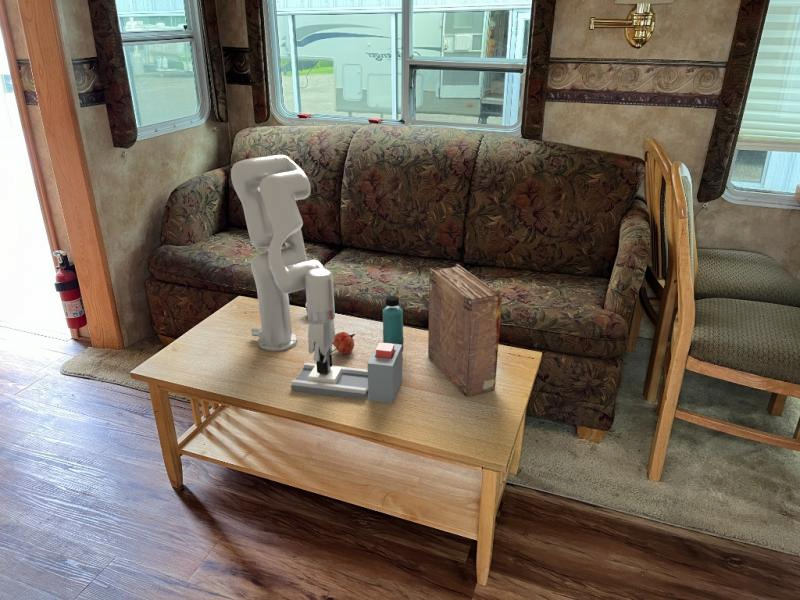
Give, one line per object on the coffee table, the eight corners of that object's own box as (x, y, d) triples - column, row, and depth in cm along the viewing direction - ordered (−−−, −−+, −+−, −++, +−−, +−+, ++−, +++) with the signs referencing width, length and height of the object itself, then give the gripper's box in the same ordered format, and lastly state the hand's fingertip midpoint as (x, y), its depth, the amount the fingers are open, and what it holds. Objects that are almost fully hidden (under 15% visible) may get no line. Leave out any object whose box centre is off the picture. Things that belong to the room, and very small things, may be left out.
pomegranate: (335, 365, 195) (360, 348, 192) (320, 348, 193) (345, 330, 191) (339, 356, 202) (363, 339, 199) (325, 339, 200) (349, 322, 198)
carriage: (308, 382, 179) (306, 355, 175) (316, 370, 185) (314, 344, 181) (335, 385, 177) (333, 358, 174) (341, 373, 183) (340, 347, 179)
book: (427, 356, 196) (429, 267, 183) (453, 350, 199) (456, 263, 186) (467, 397, 174) (471, 301, 162) (495, 390, 178) (502, 295, 165)
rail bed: (291, 390, 178) (290, 382, 177) (306, 369, 189) (305, 361, 188) (365, 399, 174) (364, 391, 173) (376, 377, 184) (375, 369, 183)
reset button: (376, 362, 172) (375, 349, 171) (379, 354, 176) (379, 342, 174) (390, 363, 172) (390, 351, 170) (394, 356, 175) (394, 343, 174)
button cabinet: (368, 400, 174) (367, 363, 168) (379, 377, 184) (378, 342, 179) (393, 403, 172) (392, 365, 167) (402, 380, 183) (402, 344, 178)
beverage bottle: (401, 361, 193) (401, 302, 184) (380, 358, 194) (379, 301, 186) (405, 350, 199) (405, 293, 190) (385, 348, 200) (384, 292, 191)
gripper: (318, 299, 180) (322, 354, 188) (297, 324, 166) (302, 383, 173) (343, 301, 179) (345, 357, 186) (324, 327, 164) (327, 386, 172)
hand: (324, 369), depth 180 cm, fingers closed on carriage, 3 cm apart
